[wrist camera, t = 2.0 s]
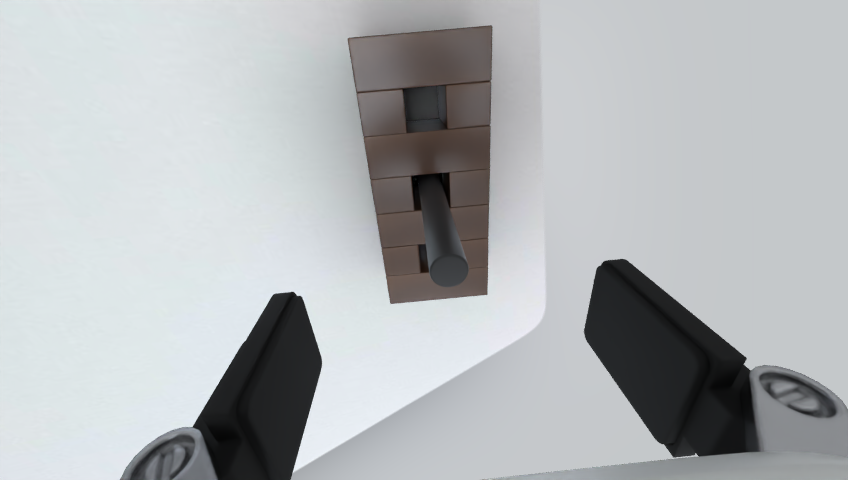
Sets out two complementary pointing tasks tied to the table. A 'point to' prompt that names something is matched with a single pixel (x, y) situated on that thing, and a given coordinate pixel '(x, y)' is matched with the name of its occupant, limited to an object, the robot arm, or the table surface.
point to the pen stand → (427, 148)
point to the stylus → (441, 234)
